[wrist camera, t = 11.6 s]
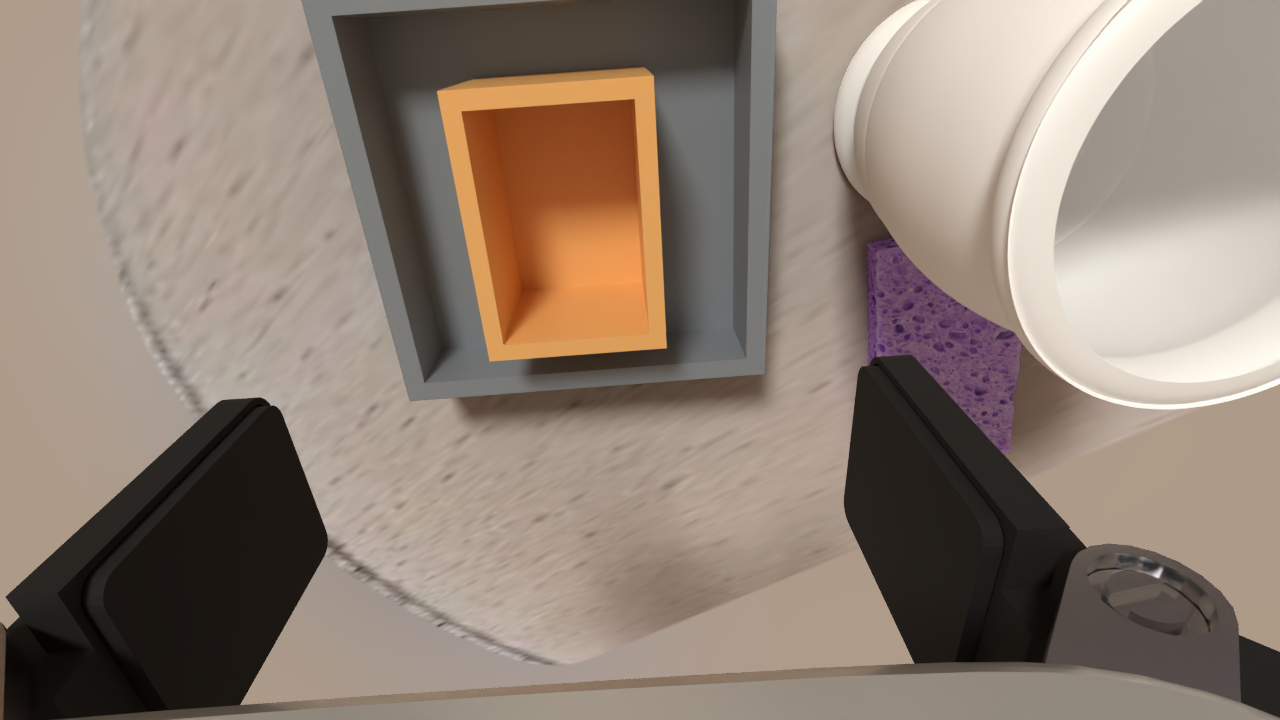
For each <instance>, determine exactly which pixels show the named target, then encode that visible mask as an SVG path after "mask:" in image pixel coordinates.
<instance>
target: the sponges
mask: <svg viewBox="0 0 1280 720" xmlns="http://www.w3.org/2000/svg"><path fill="white" fill-rule="evenodd" d="M867 260H868V270H867V275H868V296H867V297H868V306H869V308H868V332H869V337H868V366H869V364H870V362H871V359H873V358H874V357H881V356H896V355H912V356H913V357H915V358H916V360H917V361H918V362H919V363H920V364H921V365H922V366H923V367H924V368H925V369H926V371H927V372H928V373H929V374H930V375H931V376H932V377H933V378H934V379H935V380H936V381H937V383H938V384H939V385H940V386H941V387H942V388H943V389H944V390H945V391H946V392H947V393H948V395H949V396H950V397H951V398H952V399H953V400H954V401H955V402H956V403H957V404H958V405H959V407H960V408H961V409H962V410H963V411H964V412H965V413H966V414H967V415H968V416H969V417H970V419H971V420H972V421H973V422H974V423H975V424H976V425H977V426H978V427H979V428H980V430H981V431H982V432H983V433H984V434H985V435H986V436H987V437H988V438H989V439H990V440H991V442H992V443H993V444H994V445H995V446H996V447H997V448H998V449H999V450H1000V451H1001V452H1002V454H1008V453H1010V452H1011V436H1012V426H1013V419H1014V416H1013V415H1014V413H1013V411H1014V402H1013V400H1012V393H1013V391H1015V390H1016V388H1017V378H1018V373H1019V370H1020V362H1019V356H1020V354H1021V351H1022V346H1021V341H1020V340H1019V338H1018V337H1017V335H1016V334H1015V332H1012V331H1010V330H1008V329H1006V328H1004V327H1002V326H999V325H997V324H995V323H993V322H992V321H990V320H988V319H986V318H984V317H982V316H980V315H979V314H977V313H975V312H973V311H972V310H970V309H968V308H967V307H965V306H964V305H962V304H961V303H959V302H958V301H956V300H955V299H953V298H952V297H950V296H949V295H948V294H946V293H945V292H944V291H942V290H941V289H940V288H939V287H938V286H936V285H935V284H934V283H933V282H932V281H931V280H929V279H928V278H927V277H926V276H925V275H924V274H923V273H922V272H921V271H920V270H919V269H918V268H917V267H916V266H915V265H914V264H913V263H912V261H911V260H910V259H909V258H908V257H907V256H906V254H905V253H904V252H903V251H902V249H901V248H900V247H899V246H898V244H897V243H896V241H895V240H894V239H893V238H889V239H884V240H880V241H874V242H869V243H868V244H867Z"/></svg>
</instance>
